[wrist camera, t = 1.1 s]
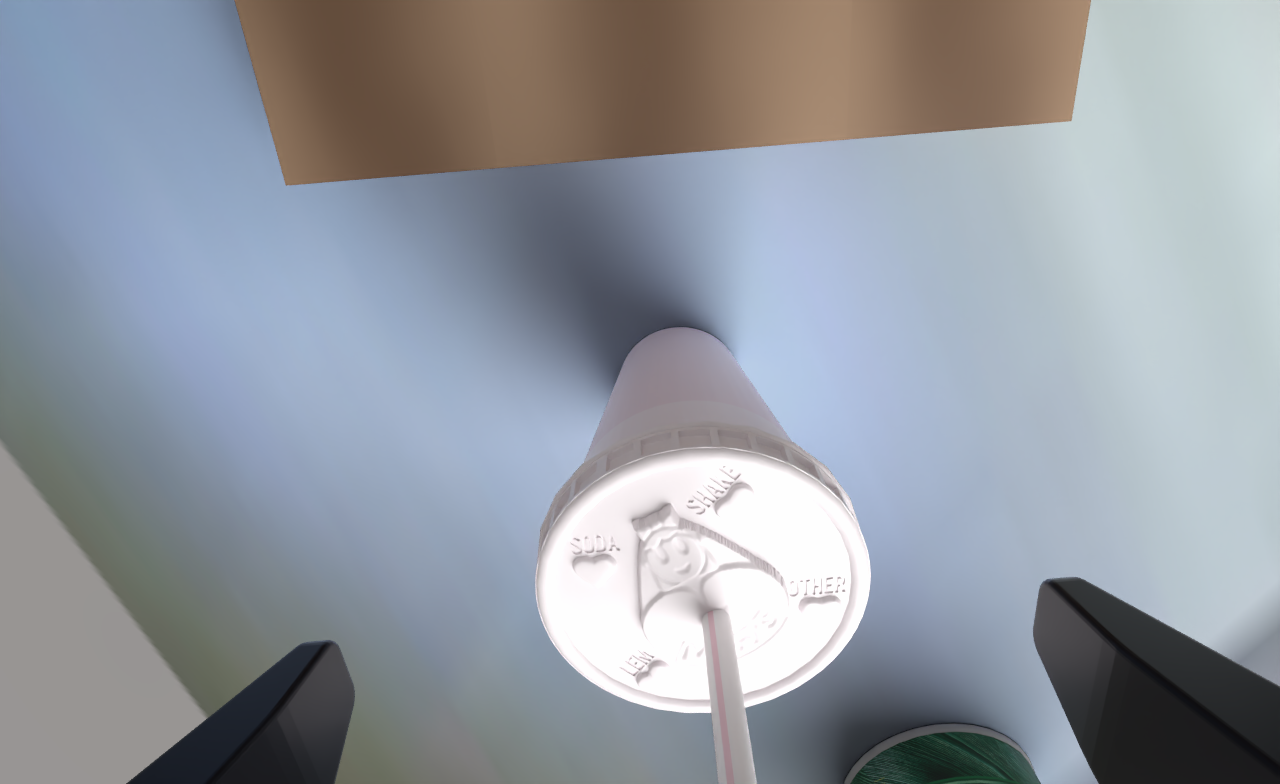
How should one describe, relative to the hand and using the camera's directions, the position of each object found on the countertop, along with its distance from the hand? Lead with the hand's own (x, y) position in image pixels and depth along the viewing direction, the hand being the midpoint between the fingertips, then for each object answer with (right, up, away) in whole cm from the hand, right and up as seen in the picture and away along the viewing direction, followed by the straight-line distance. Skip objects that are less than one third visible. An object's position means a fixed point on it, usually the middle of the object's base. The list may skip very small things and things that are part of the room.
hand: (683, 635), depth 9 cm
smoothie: (+1, +3, +13) cm, 14 cm away
